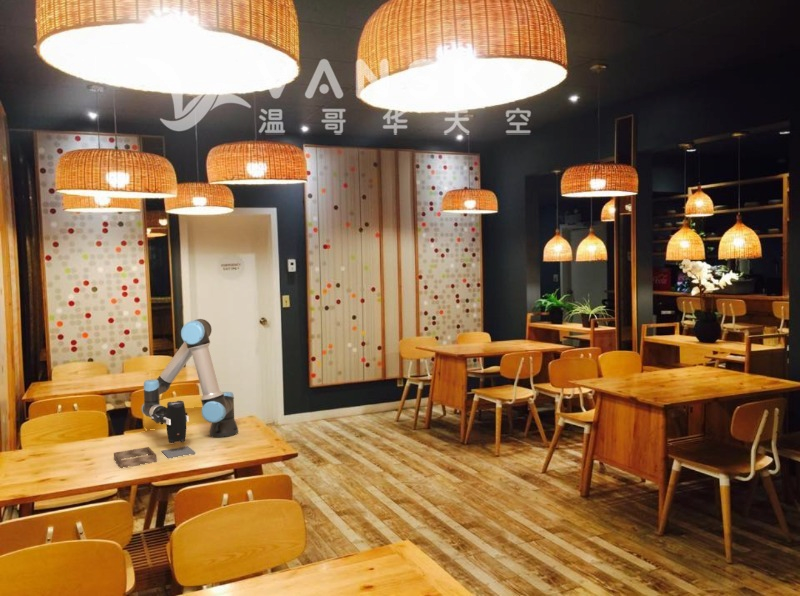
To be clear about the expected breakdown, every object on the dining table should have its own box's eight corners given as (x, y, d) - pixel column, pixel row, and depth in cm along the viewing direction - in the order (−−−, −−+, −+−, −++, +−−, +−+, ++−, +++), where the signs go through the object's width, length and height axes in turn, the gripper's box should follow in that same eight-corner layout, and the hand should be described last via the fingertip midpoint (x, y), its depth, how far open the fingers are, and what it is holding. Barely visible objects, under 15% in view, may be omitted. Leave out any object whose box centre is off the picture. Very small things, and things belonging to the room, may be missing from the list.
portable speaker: (184, 443, 312) (183, 404, 310) (164, 444, 311) (163, 404, 310) (188, 438, 320) (187, 400, 319) (169, 439, 320) (168, 400, 318)
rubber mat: (188, 447, 325) (187, 446, 325) (195, 454, 314) (195, 452, 314) (161, 452, 318) (161, 450, 318) (167, 459, 307) (167, 457, 307)
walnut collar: (149, 453, 316) (148, 446, 316) (156, 462, 303) (156, 454, 302) (114, 459, 307) (113, 452, 307) (120, 468, 294) (119, 461, 294)
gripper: (179, 416, 337) (199, 424, 320) (139, 423, 322) (157, 432, 306) (179, 402, 336) (199, 409, 320) (138, 409, 322) (157, 416, 305)
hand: (178, 420), depth 313 cm, fingers closed on portable speaker, 8 cm apart
